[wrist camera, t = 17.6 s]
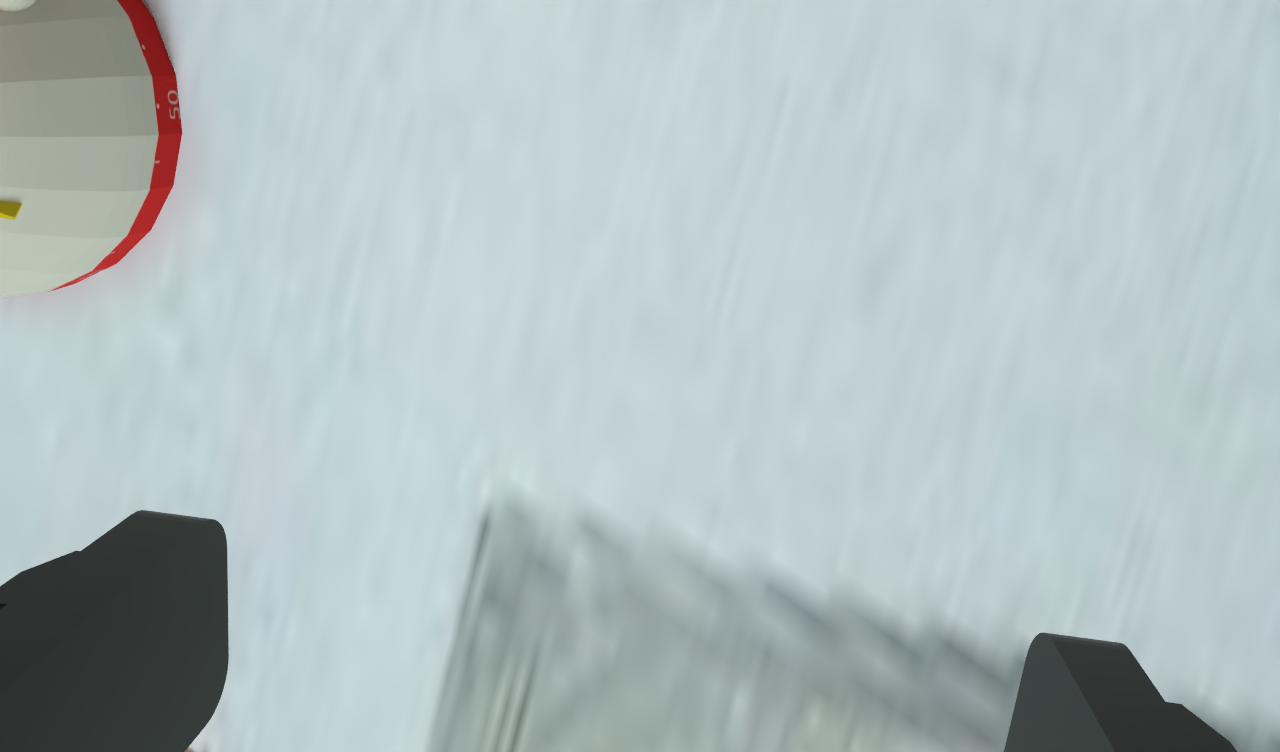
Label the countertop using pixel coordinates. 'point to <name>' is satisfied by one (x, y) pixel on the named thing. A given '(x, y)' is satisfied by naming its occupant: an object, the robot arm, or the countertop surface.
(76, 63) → the white and red dome
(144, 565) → the robot arm
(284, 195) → the countertop surface
